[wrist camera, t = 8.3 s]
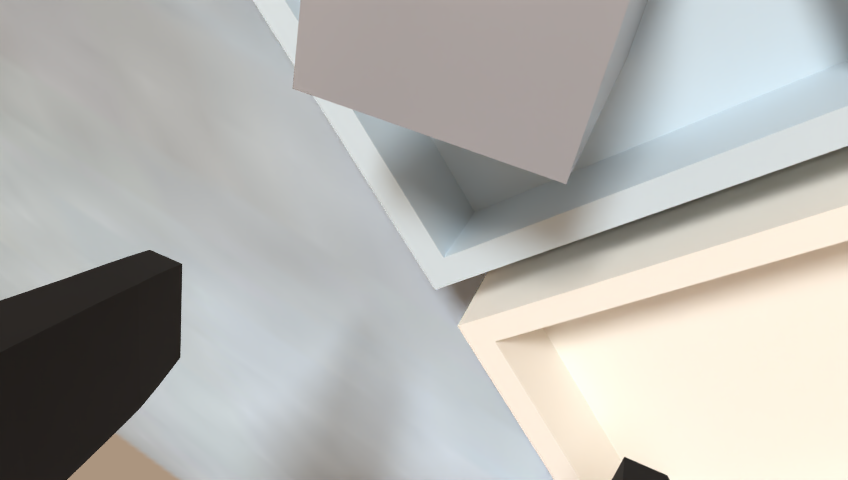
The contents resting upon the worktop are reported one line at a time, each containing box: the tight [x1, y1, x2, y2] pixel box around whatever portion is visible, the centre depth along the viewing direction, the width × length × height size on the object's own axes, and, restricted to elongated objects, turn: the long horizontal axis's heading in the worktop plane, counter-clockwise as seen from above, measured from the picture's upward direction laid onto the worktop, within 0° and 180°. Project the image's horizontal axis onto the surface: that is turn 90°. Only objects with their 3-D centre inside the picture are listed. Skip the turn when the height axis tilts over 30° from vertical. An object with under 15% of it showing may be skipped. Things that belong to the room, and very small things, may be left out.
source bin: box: [458, 146, 848, 480], centre depth 18 cm, size 11×11×3 cm
